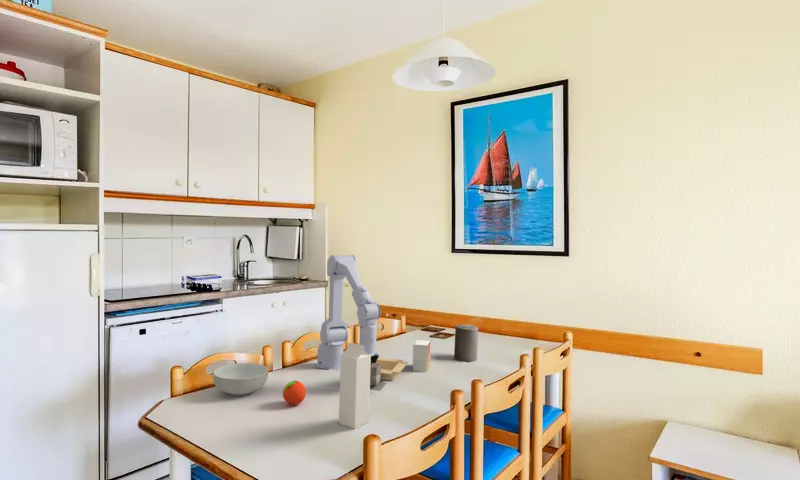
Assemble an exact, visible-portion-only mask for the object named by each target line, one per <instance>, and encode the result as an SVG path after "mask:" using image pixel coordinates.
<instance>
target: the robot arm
mask: <svg viewBox="0 0 800 480" xmlns="http://www.w3.org/2000/svg"><path fill="white" fill-rule="evenodd" d="M326 261H327V262H326V274H327V276H328V277H329V290H328V291H329V293H328V294H329V299H328V318H326V320H325V321H323V322H322V323H321V329H320V332H319V338H320V341H321V342H320V343H319V344H318V347H317V357H316V358H317V360H316V361H317V362H316V363H317V366H316V368H317V369H325V370H336V371H337V370H338V371H340V362H341V355H342V354H343V353H344V345H346V342H347V341H348V339H349V336H350V335H349V329H348V323H347V321H345V320H344V319H343V294H344V293H343V289H344V278H346V280H347V282H348V283H349V285H350V287H351V288H352V291H351V296H352V299H353V301H354V303H355V305H356V307H357V310H356V317H357V319H358V325H359V343H358V345H363V346H364V352H366V353H368V354H369V355H371V364H372V363H376V361H377V359H378V358H380V357H379V355H380V351H377V335H378V334H377V332H378V331H377V330H378V329H377V328H378V320H379V319H380V317H381V313H382V312H381V307H380V304H379V303H377V302H376V301H375V300H373V298H372V296H371V295H370V293H369V290H368V288H367V287H366V286H364V285H363V284H362V282H361V279H360V276H359V273H358V270H357V269H358V259H357V257H356V256H355V254H351V255H333V254H332V255H330V256H329V257H328V259H327V260H326ZM370 367H371V365H370Z"/></svg>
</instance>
